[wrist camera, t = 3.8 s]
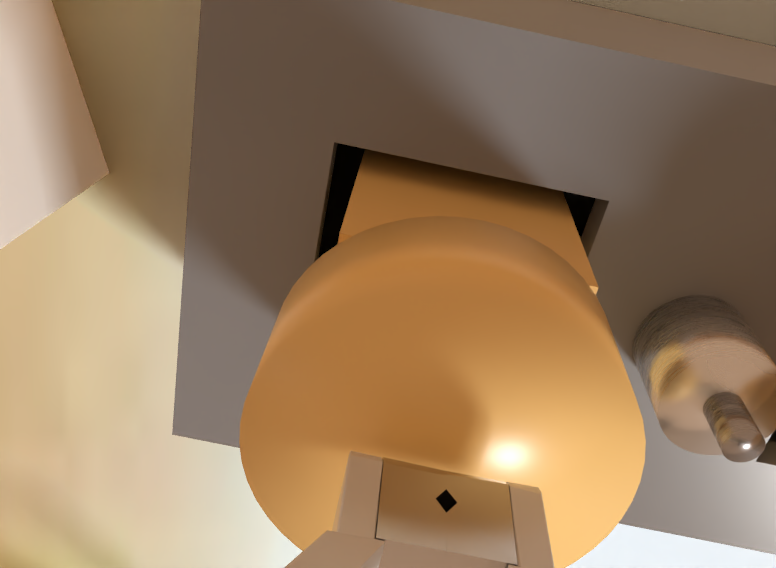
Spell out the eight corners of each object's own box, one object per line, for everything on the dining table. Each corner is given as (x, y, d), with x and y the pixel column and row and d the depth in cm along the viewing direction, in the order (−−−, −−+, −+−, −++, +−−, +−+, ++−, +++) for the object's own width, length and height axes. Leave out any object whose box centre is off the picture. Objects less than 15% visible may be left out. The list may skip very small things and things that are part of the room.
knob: (335, 100, 17) (262, 244, 10) (610, 159, 17) (714, 338, 10) (297, 332, 20) (222, 558, 13) (528, 380, 20) (569, 624, 14)
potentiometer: (656, 284, 16) (705, 380, 13) (766, 308, 17) (841, 408, 13) (616, 375, 18) (653, 482, 15) (719, 396, 18) (777, 507, 15)
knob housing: (278, -65, 20) (203, -41, 14) (1107, 120, 21) (1383, 220, 15) (237, 303, 26) (172, 434, 20) (885, 436, 27) (1016, 602, 20)
